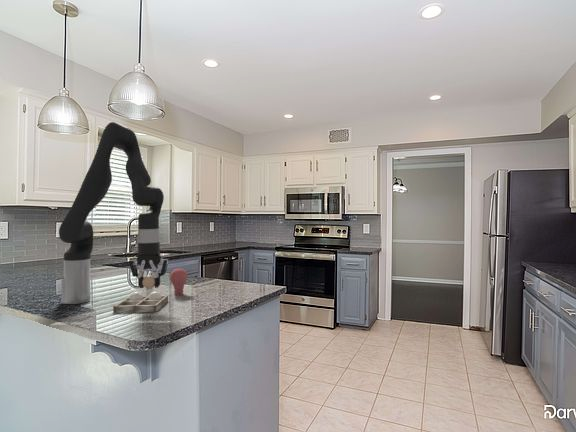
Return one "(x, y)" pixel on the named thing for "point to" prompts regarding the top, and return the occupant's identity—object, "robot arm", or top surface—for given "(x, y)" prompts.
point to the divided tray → (140, 305)
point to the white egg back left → (136, 296)
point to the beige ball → (149, 282)
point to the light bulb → (178, 280)
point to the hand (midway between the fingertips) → (149, 287)
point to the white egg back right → (154, 296)
